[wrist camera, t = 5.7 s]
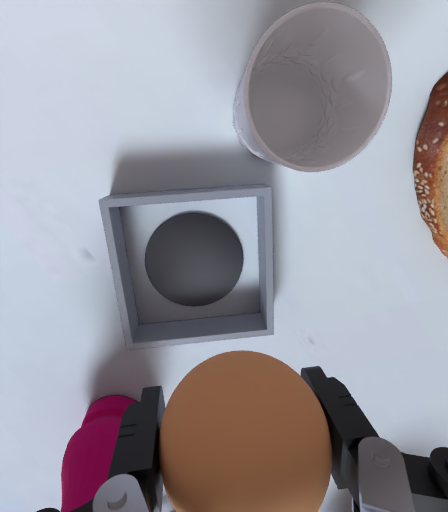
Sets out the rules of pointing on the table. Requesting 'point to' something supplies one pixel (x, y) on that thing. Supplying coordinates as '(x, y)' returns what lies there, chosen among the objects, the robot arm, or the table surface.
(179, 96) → the table surface
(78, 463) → the pepper mill
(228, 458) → the ball
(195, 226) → the pad
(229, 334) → the corral
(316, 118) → the white cup
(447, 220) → the slice of bread
